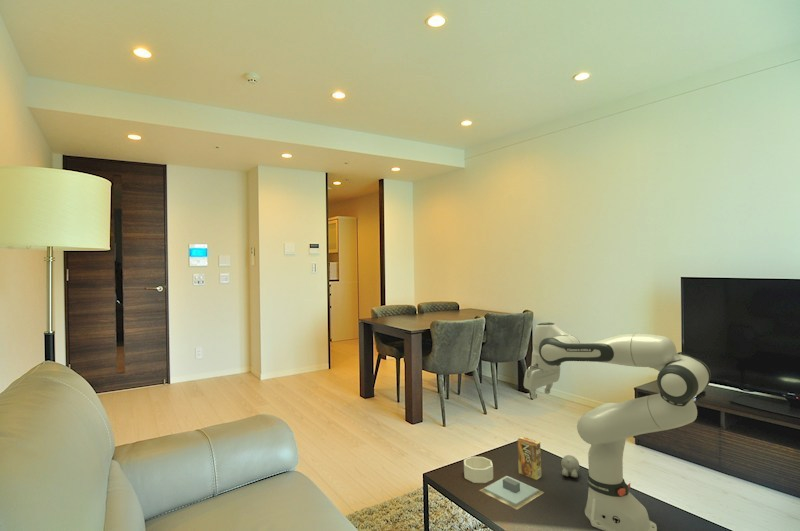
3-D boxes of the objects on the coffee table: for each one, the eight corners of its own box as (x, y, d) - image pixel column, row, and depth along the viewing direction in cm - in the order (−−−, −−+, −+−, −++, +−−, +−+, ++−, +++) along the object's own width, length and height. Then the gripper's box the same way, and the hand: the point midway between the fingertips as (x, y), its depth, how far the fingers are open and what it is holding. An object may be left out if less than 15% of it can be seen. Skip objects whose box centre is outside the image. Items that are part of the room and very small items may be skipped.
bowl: (498, 477, 180) (498, 463, 180) (480, 487, 173) (479, 472, 173) (476, 467, 190) (476, 454, 190) (458, 476, 182) (458, 462, 182)
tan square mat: (544, 493, 167) (544, 492, 167) (516, 511, 155) (516, 509, 155) (506, 476, 181) (506, 475, 181) (479, 491, 169) (479, 490, 169)
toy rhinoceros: (580, 478, 183) (581, 457, 186) (578, 479, 174) (578, 457, 176) (563, 474, 187) (563, 453, 190) (559, 475, 177) (560, 453, 180)
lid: (538, 492, 167) (538, 482, 167) (515, 506, 157) (515, 495, 157) (507, 478, 178) (507, 468, 178) (484, 490, 169) (484, 480, 169)
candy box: (541, 477, 179) (540, 441, 179) (536, 481, 176) (536, 444, 176) (523, 470, 186) (522, 436, 186) (517, 474, 183) (517, 438, 183)
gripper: (534, 368, 160) (532, 404, 161) (563, 360, 172) (561, 393, 174) (520, 364, 164) (518, 398, 166) (550, 356, 177) (547, 388, 178)
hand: (540, 395), depth 170 cm, fingers open, 8 cm apart
